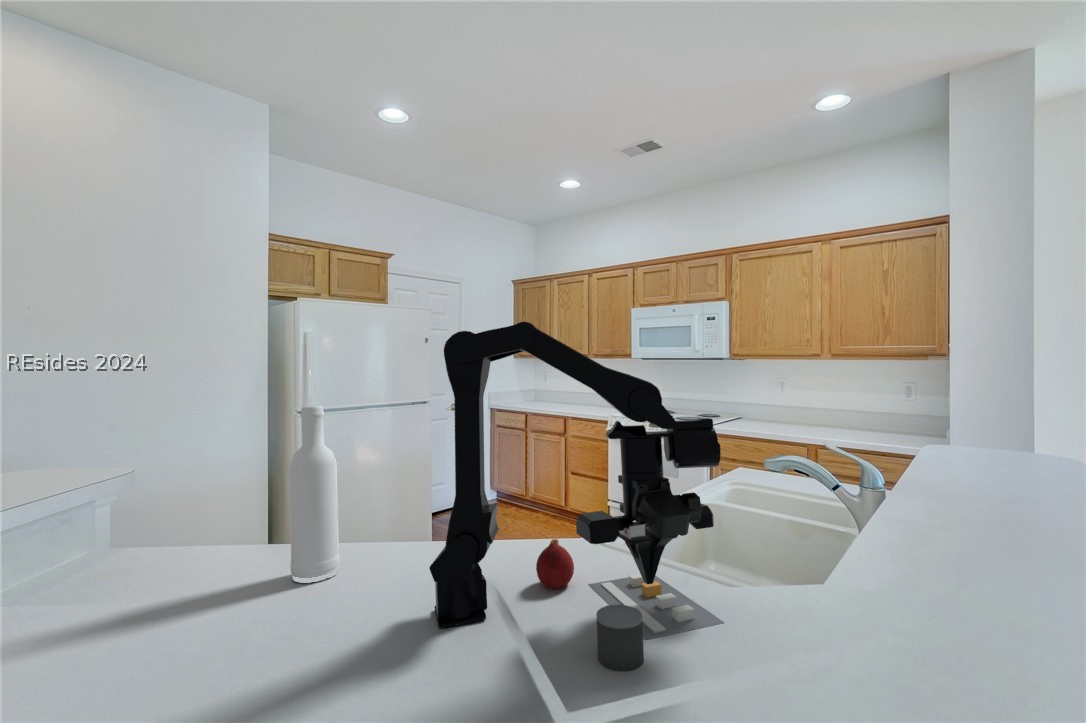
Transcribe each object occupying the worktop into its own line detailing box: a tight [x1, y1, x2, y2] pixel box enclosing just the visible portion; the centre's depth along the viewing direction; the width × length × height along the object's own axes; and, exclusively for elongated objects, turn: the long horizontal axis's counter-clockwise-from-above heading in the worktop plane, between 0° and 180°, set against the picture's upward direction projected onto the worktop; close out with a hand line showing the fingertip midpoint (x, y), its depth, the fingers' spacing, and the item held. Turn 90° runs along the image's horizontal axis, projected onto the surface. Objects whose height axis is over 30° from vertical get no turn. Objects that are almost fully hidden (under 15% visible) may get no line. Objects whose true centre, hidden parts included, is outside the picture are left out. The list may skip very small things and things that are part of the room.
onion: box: [535, 537, 575, 590], centre depth 76 cm, size 6×6×8 cm
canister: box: [596, 604, 645, 672], centre depth 55 cm, size 5×5×6 cm
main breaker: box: [642, 581, 662, 597], centre depth 71 cm, size 2×1×1 cm, turn 107°
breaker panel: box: [587, 573, 726, 641], centre depth 69 cm, size 11×18×2 cm, turn 17°
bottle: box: [289, 405, 341, 578], centre depth 89 cm, size 8×8×30 cm
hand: (648, 583), depth 69 cm, fingers closed
